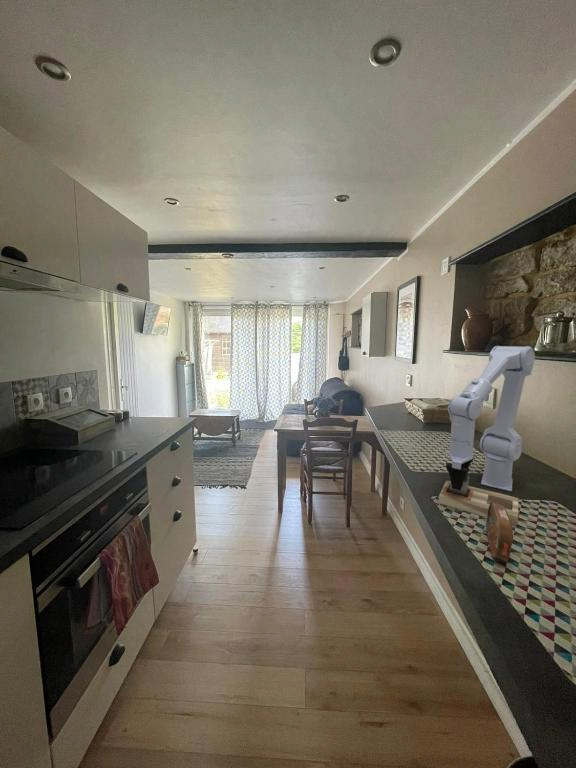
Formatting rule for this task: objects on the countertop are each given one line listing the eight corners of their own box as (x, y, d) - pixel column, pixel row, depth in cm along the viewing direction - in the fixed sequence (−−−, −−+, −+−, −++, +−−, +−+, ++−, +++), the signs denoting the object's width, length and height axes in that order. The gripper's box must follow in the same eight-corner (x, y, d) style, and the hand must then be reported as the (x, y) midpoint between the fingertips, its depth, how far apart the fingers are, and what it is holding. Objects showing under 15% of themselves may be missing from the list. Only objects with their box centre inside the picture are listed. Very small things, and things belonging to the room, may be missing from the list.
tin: (485, 525, 76) (487, 494, 75) (500, 529, 75) (503, 497, 73) (493, 566, 63) (496, 529, 62) (511, 571, 61) (515, 533, 60)
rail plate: (446, 487, 95) (446, 479, 95) (517, 506, 84) (518, 497, 84) (438, 503, 86) (439, 494, 86) (517, 526, 76) (518, 516, 75)
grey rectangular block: (452, 494, 91) (453, 473, 90) (467, 499, 89) (469, 476, 87) (449, 500, 88) (450, 478, 87) (465, 505, 85) (466, 481, 84)
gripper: (450, 430, 94) (448, 471, 96) (441, 443, 82) (438, 489, 84) (477, 434, 89) (474, 477, 91) (471, 448, 78) (467, 497, 80)
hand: (458, 483), depth 88 cm, fingers open, 7 cm apart
